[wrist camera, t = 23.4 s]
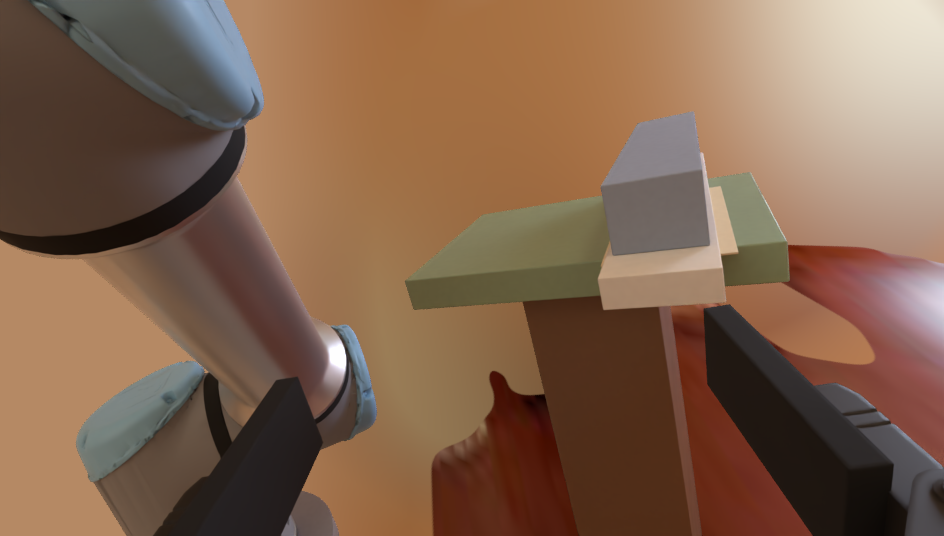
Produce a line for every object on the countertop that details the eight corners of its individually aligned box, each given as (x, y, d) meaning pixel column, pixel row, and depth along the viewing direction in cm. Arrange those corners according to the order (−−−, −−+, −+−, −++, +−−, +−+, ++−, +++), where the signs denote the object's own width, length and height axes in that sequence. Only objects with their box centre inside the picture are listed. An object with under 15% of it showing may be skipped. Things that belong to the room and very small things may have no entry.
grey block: (726, 303, 18) (714, 181, 17) (603, 310, 20) (583, 202, 19) (704, 171, 37) (698, 108, 35) (642, 181, 39) (633, 122, 37)
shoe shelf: (816, 709, 30) (791, 246, 21) (509, 638, 39) (395, 286, 30) (776, 512, 43) (750, 170, 34) (552, 491, 52) (482, 213, 42)
